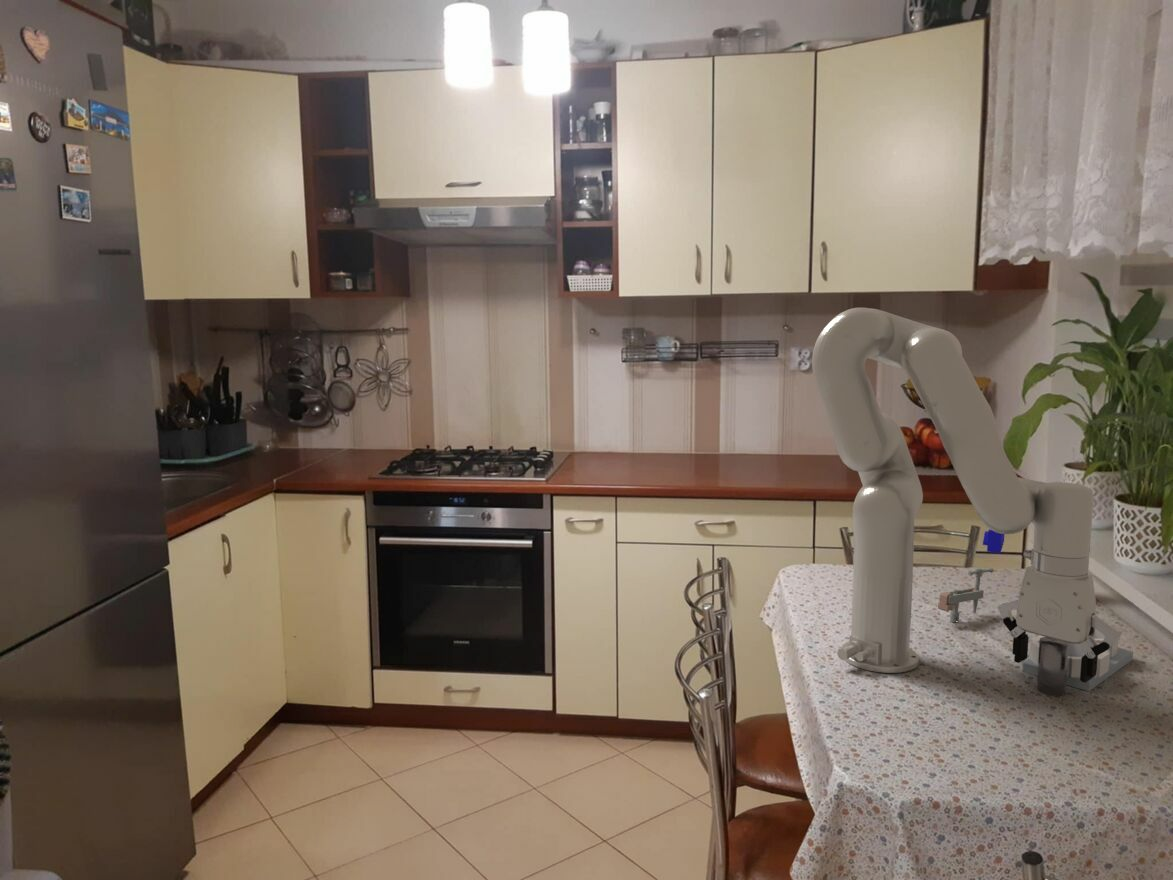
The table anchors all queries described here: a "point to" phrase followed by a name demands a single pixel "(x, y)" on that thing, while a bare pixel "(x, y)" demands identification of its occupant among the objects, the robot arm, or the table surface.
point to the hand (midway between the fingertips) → (1052, 669)
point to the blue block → (993, 541)
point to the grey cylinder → (1052, 666)
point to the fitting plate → (1092, 682)
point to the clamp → (962, 596)
